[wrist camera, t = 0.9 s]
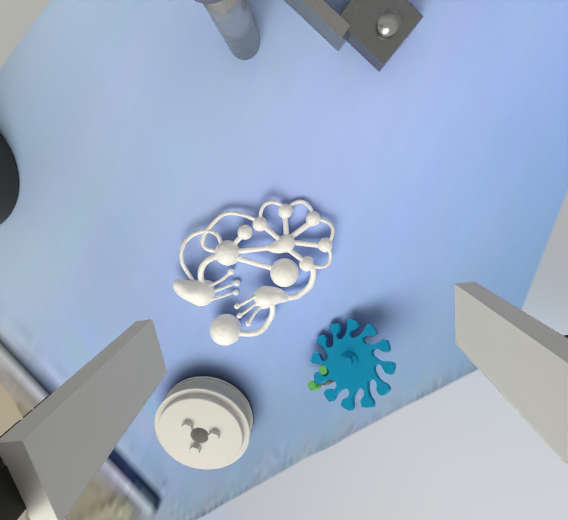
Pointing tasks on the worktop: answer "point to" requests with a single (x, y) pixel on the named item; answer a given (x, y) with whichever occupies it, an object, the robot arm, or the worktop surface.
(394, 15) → the bolted rod clamp
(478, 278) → the worktop surface
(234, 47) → the pin
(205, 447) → the lid
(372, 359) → the gear
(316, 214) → the tangled rod sculpture
